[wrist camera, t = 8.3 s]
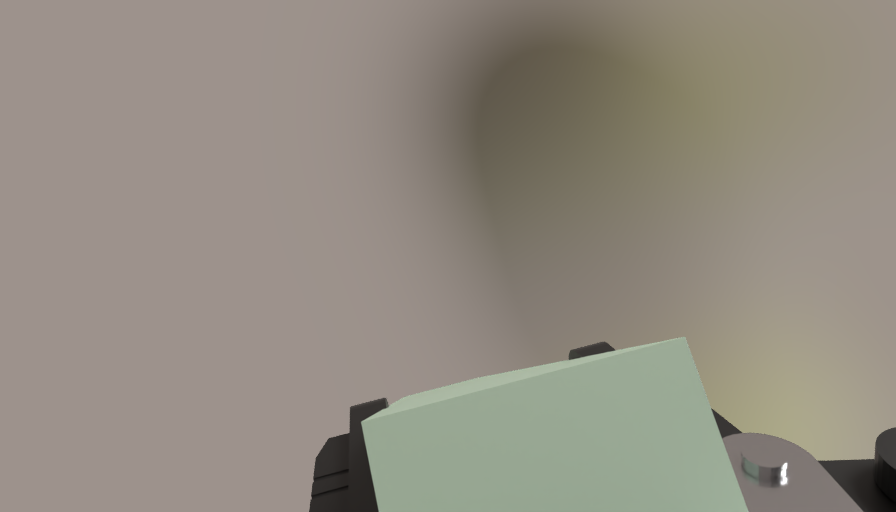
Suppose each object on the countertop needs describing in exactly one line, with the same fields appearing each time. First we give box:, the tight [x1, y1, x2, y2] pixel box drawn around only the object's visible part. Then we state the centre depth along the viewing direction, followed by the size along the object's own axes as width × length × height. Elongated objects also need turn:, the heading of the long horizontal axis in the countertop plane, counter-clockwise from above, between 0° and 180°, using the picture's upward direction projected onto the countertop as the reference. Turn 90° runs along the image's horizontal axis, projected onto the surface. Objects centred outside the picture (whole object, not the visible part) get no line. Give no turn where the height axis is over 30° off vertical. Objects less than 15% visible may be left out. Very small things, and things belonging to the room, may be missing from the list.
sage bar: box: [361, 337, 748, 512], centre depth 16 cm, size 4×22×4 cm, turn 4°
